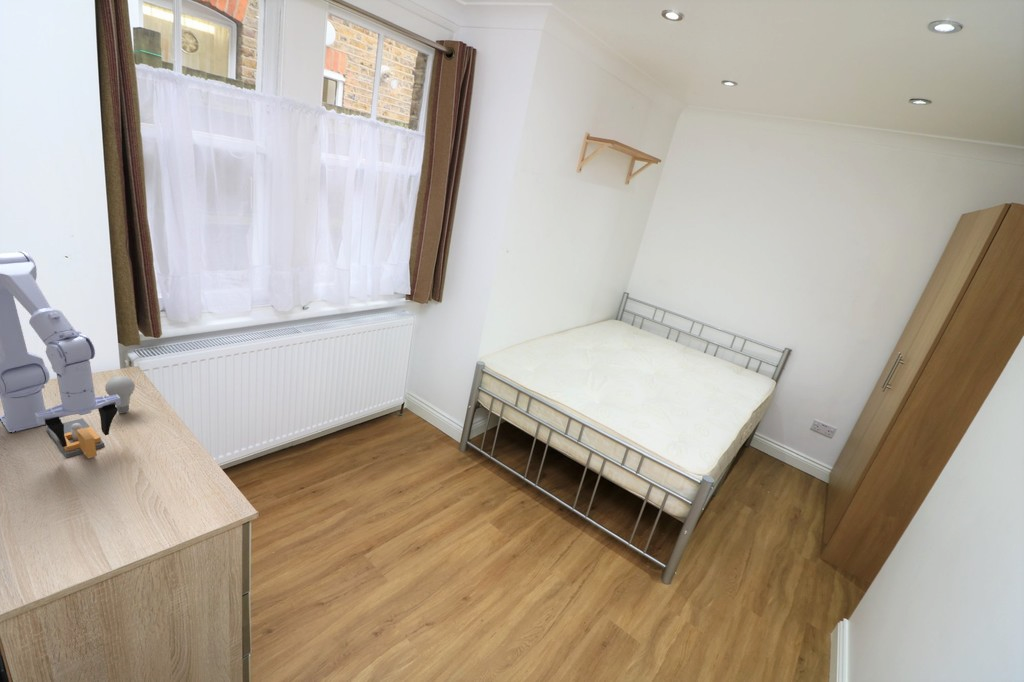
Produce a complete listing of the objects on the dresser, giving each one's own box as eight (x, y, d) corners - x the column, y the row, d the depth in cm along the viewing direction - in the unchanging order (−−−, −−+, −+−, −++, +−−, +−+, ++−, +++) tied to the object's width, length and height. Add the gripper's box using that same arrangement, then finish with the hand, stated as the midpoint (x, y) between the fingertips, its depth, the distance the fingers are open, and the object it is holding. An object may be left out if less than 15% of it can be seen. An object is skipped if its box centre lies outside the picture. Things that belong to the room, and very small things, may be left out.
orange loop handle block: (57, 439, 114) (54, 422, 112) (91, 430, 119) (88, 413, 117) (74, 462, 108) (71, 443, 106) (109, 451, 113) (107, 434, 111)
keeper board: (46, 430, 117) (43, 411, 116) (83, 421, 123) (80, 403, 121) (66, 457, 110) (63, 437, 108) (104, 446, 116) (101, 427, 114)
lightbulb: (141, 413, 130) (137, 378, 127) (114, 420, 125) (109, 384, 122) (131, 405, 133) (127, 370, 129) (105, 412, 128) (99, 375, 124)
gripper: (38, 404, 98) (48, 458, 103) (123, 385, 110) (129, 435, 115) (28, 391, 102) (39, 444, 107) (111, 375, 114) (118, 423, 118)
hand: (85, 438), depth 111 cm, fingers open, 7 cm apart
